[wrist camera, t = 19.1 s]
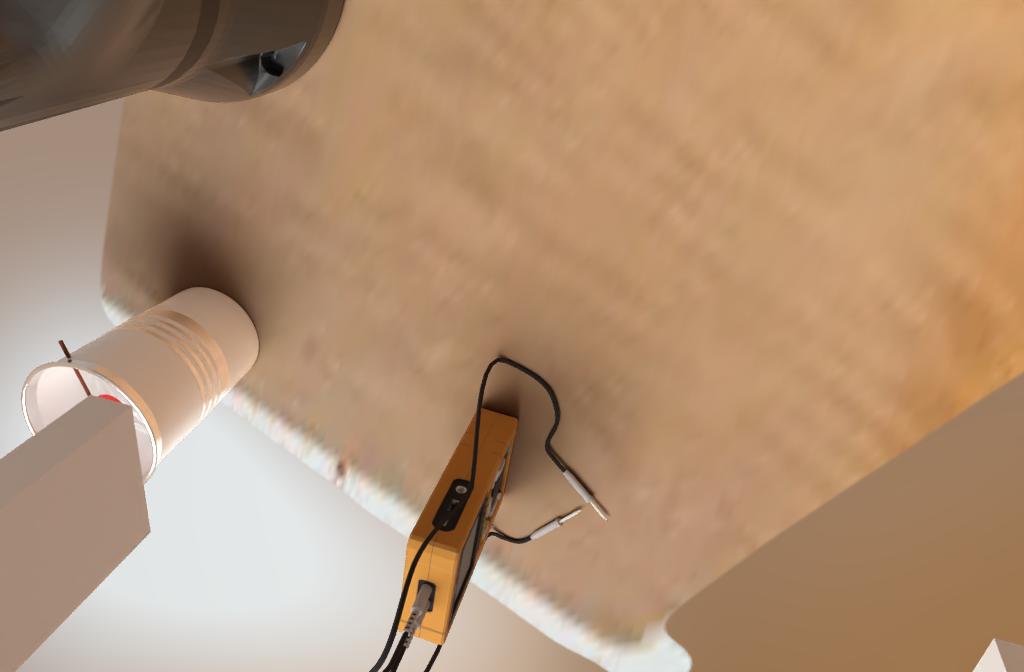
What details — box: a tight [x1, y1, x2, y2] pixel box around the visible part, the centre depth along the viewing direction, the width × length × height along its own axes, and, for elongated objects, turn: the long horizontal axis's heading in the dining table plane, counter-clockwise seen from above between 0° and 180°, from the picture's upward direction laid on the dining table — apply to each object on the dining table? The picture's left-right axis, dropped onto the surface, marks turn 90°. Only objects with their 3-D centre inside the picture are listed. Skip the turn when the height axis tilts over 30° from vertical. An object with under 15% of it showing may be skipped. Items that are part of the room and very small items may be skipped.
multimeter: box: [369, 358, 607, 672], centre depth 42 cm, size 15×10×20 cm
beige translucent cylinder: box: [21, 287, 259, 484], centre depth 47 cm, size 10×8×12 cm
